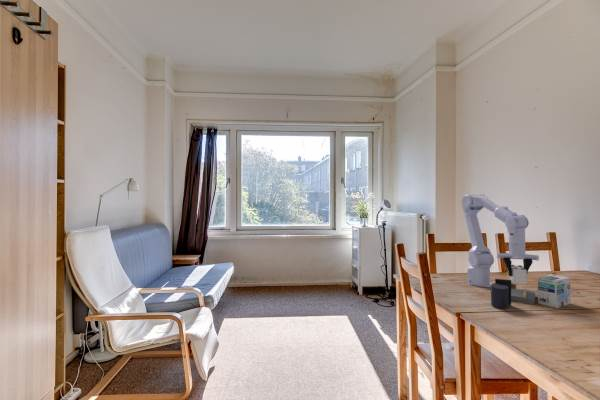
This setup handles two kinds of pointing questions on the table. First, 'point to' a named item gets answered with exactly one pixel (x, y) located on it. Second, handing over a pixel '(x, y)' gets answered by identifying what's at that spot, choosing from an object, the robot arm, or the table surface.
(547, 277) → the light bulb box
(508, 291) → the speaker
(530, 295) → the stand
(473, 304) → the table surface
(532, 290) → the mat
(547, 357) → the table surface
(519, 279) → the block
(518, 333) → the table surface
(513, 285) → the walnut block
